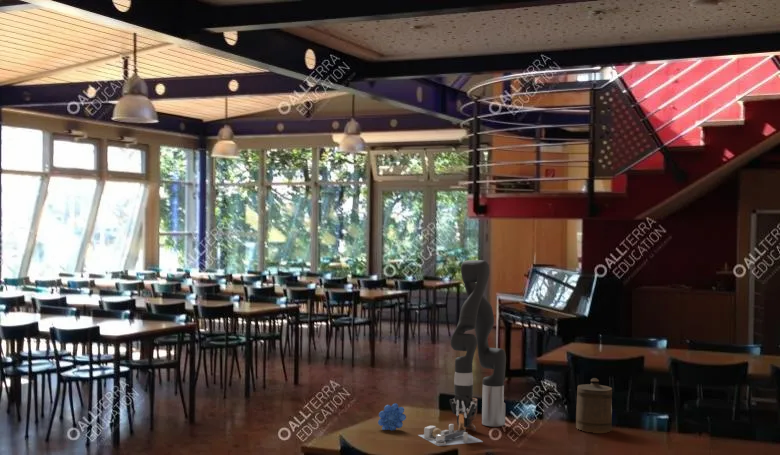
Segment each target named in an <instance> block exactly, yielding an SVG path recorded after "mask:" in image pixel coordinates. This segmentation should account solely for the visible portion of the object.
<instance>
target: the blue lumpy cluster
mask: <svg viewBox="0 0 780 455" xmlns="http://www.w3.org/2000/svg"><path fill="white" fill-rule="evenodd" d="M378 417H379V419H378V420H377V424H378V425H379V427H380V426H381V430H382V431H388V430H389V431H396V430H397V429H401V428H402V427H403V425H404V424H403V421H405V420H406V419H407V416H406V414H405V408H404V407H403V406H399V405H398V403H393V404H392V405H390V404H386V405H385V406H384V407H383V410H381V411H380V412H378Z"/></svg>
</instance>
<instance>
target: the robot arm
mask: <svg viewBox="0 0 780 455" xmlns="http://www.w3.org/2000/svg"><path fill="white" fill-rule="evenodd" d="M460 273H461V278H462V282H463V285H464V288H465V291H466V294H467V299H465V300H464V302H463V304H462V306H461V308H460V312H459V319H458V322H457V325H456V327H455V330H454V331H453V333H452V335H451V339H450V346H451V349H453V350H454V351H456V352H457V351H458V352H459V351H460V352H466V354H465V355H463V356H457V357H456V358H455V359H454V360H455V361H454V378H453V380H454V381H453V385H454V386H453V394H454V398H452V399H451V398H450V399H449V400H448V402H449V405H450V407H451V411H452V414H454V415H456V424H457V426H458V427H459V413H462V412H464V417H465V418H464V427H469V425H470V417H472V416H474V414H475V412H476V409H477V410H478V405H479V404H478V402H477V403H474V402H473V400H472V398H473V395H474V375H473V361H474V356H475V354H476V349H477V353H478V354H477V356H478V362H479V364H480V367H482V368H484V369H489V370H493V373H492V374H491V375H488V376H485V377H483V378H482V388H481V389H482V394H481V395H482V396H481V397H482V401H481V402H482V403H481V406H482V407H481V424H482V425H483V426H487V427H502V426H505V425H506V403H505V402H504V399H505V397H504V396H505V394H504V392H505V379H506V364H507V356H506V355H507V354H506V351H505V349H503V348H501V347H500V348H497V347H490V345H489V340H488V339H489V335H490V334H491V331H492V329H493V327H494V323H495V317H494V316H495V315H494V310H493V307H492V304H491V303H490V302H489V301H488V299H486V297H485V296H484V293H485V290H486V286H487V285H488V280H489V276H490V265H489V263H488V261H487V260H483V259H482V260H481V259H478V260H477V259H476V260H470V259H469V260H463V262H462V263H461V266H460ZM472 330H474V333H475V334H473V333H466V332H467V331H472ZM470 405H471V406H470ZM470 407H471V408H470Z"/></svg>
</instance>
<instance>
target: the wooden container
mask: <svg viewBox="0 0 780 455" xmlns="http://www.w3.org/2000/svg"><path fill="white" fill-rule="evenodd" d="M599 382H600V380H599V379H598V378H597V377H592V378H591V379H590V384H589V383H587V384H586V383H585V384H578V385H577V388H576V389H577V390H576V407H575V408H576V410H575V428H577V429H576V430H578V429H579V430H578V431H580V430H582V431H581V432H583V431H587V432H586V433H588V432H593V433H592V434H608V433H607V432H609V433H611V432H612V430H613V429H612V428H613V426H612V422H613V406H612V404H613V403H612V402H613V399H612V397H613V388H612V387H610V386H608V385H602V384H600V383H599ZM610 431H611V432H610Z"/></svg>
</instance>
